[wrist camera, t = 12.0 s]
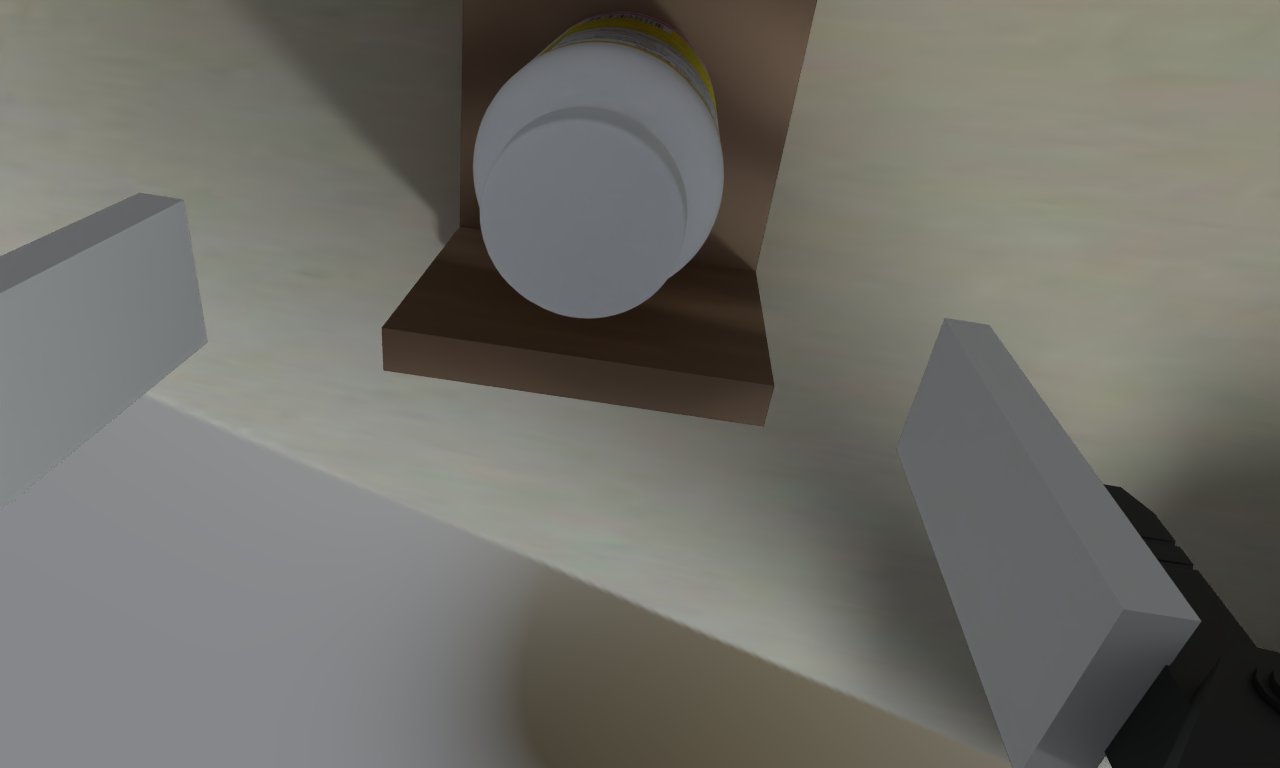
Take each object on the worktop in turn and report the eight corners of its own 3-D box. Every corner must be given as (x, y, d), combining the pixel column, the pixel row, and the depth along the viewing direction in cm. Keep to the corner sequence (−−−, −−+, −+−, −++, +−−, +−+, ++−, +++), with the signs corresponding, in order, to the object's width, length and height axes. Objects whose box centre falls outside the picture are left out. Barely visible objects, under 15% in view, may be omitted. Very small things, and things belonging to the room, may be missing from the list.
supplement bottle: (612, 230, 31) (564, 403, 20) (497, 91, 28) (370, 201, 17) (753, 125, 28) (786, 255, 17) (641, -37, 26) (597, -5, 15)
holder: (741, 310, 34) (757, 452, 25) (468, 269, 34) (384, 397, 25) (838, -124, 26) (913, -146, 17) (477, -181, 26) (357, -235, 17)
